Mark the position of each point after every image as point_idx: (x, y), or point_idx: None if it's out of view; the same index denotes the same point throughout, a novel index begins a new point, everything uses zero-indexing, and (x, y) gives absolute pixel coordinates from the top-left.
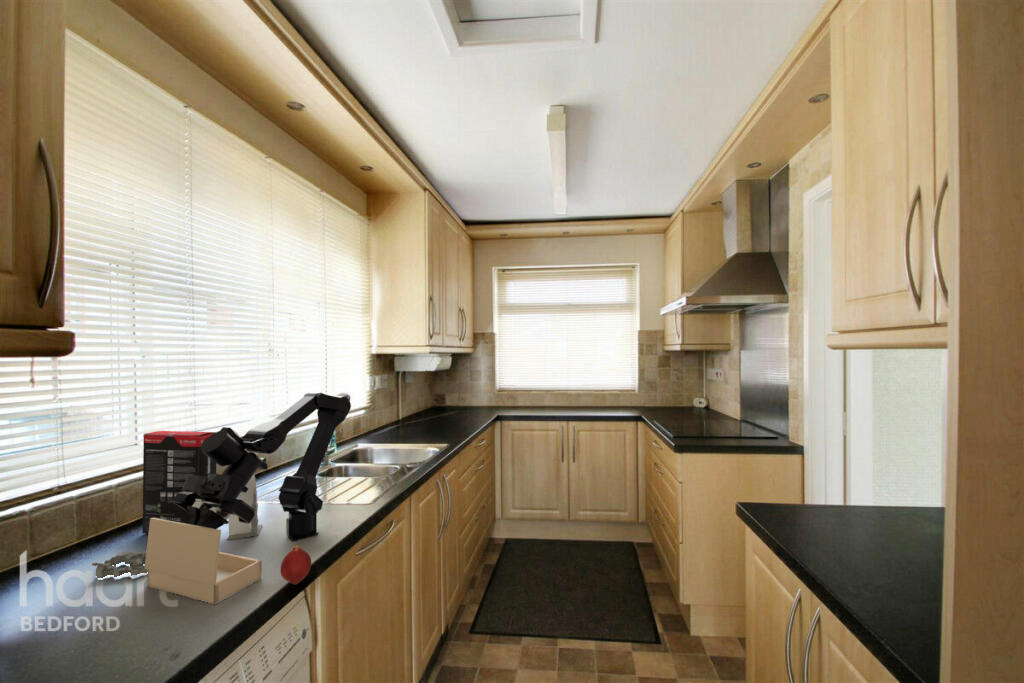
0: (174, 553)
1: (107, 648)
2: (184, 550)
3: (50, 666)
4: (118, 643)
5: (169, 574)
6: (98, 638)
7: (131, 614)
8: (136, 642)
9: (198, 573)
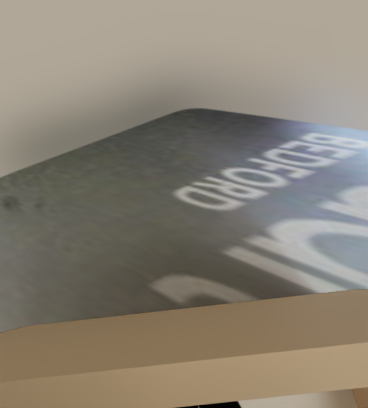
0: (226, 313)
1: (131, 169)
2: (159, 324)
3: (160, 127)
4: (129, 180)
5: (230, 303)
6: (174, 172)
7: (207, 225)
8: (103, 192)
9: (85, 322)
